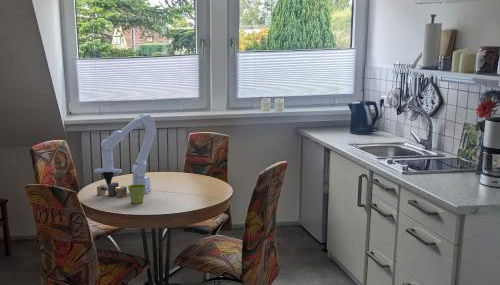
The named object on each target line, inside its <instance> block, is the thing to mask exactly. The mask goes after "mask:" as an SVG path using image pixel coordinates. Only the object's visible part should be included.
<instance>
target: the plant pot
mask: <svg viewBox="0 0 500 285" xmlns="http://www.w3.org/2000/svg"><path fill="white" fill-rule="evenodd" d="M145 187H146V185H142V184H134V185H133V184H130V185H127V190H128V192H129V197H130V202H131V204H136V205H137V204H143V202H144V198H145V193H144V190H145Z"/></svg>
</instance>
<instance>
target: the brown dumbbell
mask: <svg viewBox="0 0 500 285" xmlns="http://www.w3.org/2000/svg"><path fill="white" fill-rule="evenodd" d="M107 192H108V186H107V184H100V185H98V186H96V195H97V196H103V195H105V194H106V193H107ZM114 192H118V194H117V196H118V198H123V197H126V196H128V186H121V187H114Z"/></svg>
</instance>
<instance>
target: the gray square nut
mask: <svg viewBox="0 0 500 285" xmlns="http://www.w3.org/2000/svg"><path fill="white" fill-rule="evenodd" d="M114 187H119V182H116V181H115V182H111V184H109V185H108V191H107V194H108V196H109V197H114V196H116V195H118V192H114Z"/></svg>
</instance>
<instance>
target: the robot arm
mask: <svg viewBox="0 0 500 285" xmlns="http://www.w3.org/2000/svg"><path fill="white" fill-rule="evenodd" d="M137 127H143V128H144V129H145V131H146V132H145V135H144V139H143V142H142V145H141V147H140V151H139V154H138V156H137V158H136V159H135V162H134V163H133V164H132V166H131V172H132V185H134V184H142V185H146V187H145V190H144V194H147V193H148V192H151V191H152V189H151V186H152V185H151V177H149V176H147V174H146V173H147V163H148V162H147V160H148V158H149V154H150V152H151V149H152V146H153V143H154V140H155V137H156V134H157V128H156V127H157V126H156V120H155V119H154V117H153V116H152V115H150V114H148V113H145V112H143V113H140V114H139V115H138V116H136V117H135V118H134V119H132V120H131V121H130V122H129V123H127V125H125V126H124V127H123V128H122V129H121V130H120V129H119V130H118V129H117V130H114V131H113V133H111V135H109V136H107V137H106V138H105V139H103V140H102V141H101V142H100V147H101V158H102V159H101V160H102V168H95V169H94V173H95V174H97V173H101V174H102V177H103V178H104V180H105V183H106V186H108V185H109V184H111V183H112V180H113V177H114V175H115V174H122V173H123V170H122V168H114V153H113V150H114V148H115V146H116V145H118V144H119V143H120V142H121V141H123V140H124V139H125V135H127V134H128V133H130V132H131V131H132V130H134V129H135V128H137Z"/></svg>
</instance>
